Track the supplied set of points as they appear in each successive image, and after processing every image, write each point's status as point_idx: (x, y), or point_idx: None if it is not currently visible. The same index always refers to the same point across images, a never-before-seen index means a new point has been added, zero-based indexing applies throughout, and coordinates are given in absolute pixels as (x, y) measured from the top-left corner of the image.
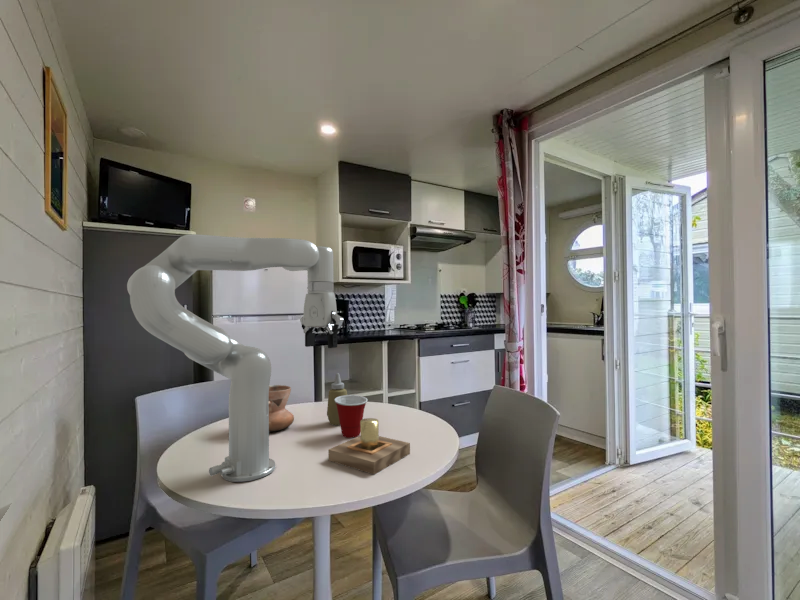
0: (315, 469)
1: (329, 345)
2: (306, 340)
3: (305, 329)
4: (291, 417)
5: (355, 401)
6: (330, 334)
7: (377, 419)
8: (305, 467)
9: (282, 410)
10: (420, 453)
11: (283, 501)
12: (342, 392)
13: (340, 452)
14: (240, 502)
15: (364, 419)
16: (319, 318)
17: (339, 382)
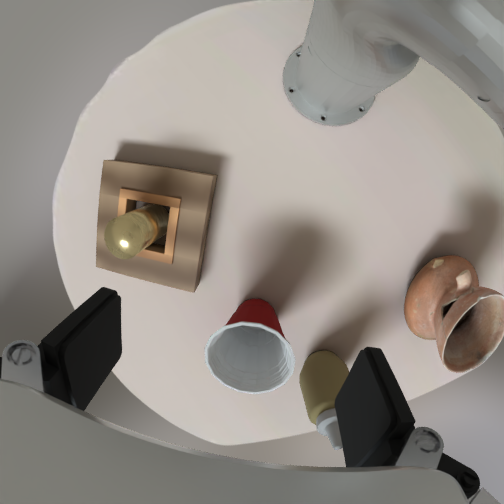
0: (216, 131)
1: (96, 295)
2: (379, 376)
3: (424, 456)
4: (409, 315)
5: (257, 379)
6: (46, 352)
7: (113, 254)
8: (240, 131)
9: (432, 312)
10: (94, 267)
11: (194, 32)
12: (312, 407)
13: (179, 171)
14: (253, 8)
15: (136, 243)
16: (4, 501)
17: (327, 428)
